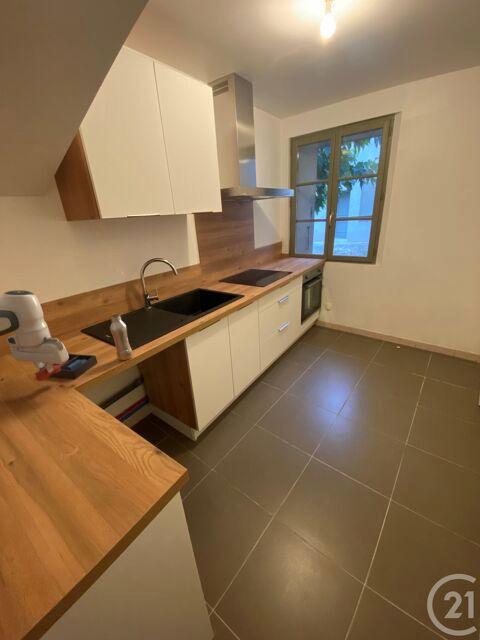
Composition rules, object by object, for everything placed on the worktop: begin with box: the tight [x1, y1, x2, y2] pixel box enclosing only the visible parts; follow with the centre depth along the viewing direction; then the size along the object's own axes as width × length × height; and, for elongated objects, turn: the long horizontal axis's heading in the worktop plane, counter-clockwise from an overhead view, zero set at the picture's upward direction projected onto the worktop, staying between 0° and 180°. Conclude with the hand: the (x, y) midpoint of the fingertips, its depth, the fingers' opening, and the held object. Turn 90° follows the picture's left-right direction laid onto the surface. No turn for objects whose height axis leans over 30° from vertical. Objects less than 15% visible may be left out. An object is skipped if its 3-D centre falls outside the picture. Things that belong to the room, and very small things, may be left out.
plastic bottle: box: [109, 313, 133, 361], centre depth 112 cm, size 6×7×20 cm
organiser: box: [43, 353, 98, 380], centre depth 108 cm, size 16×12×4 cm
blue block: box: [67, 359, 87, 370], centre depth 107 cm, size 8×4×3 cm, turn 167°
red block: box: [34, 365, 61, 382], centre depth 95 cm, size 8×4×3 cm, turn 168°
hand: (46, 371), depth 94 cm, fingers closed on red block
